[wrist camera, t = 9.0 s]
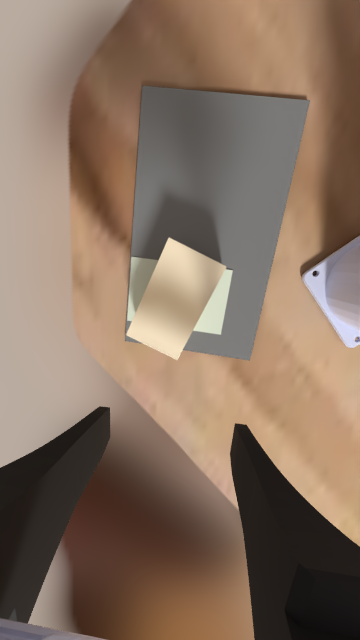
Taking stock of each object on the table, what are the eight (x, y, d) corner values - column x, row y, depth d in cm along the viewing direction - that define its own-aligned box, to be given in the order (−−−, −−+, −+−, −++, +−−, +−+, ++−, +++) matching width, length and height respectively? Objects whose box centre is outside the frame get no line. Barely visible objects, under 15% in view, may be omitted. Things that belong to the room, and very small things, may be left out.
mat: (143, 89, 16) (141, 84, 16) (307, 104, 16) (310, 99, 15) (126, 339, 21) (124, 341, 21) (248, 358, 21) (249, 360, 20)
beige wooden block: (174, 242, 18) (168, 237, 15) (222, 266, 18) (226, 266, 15) (137, 323, 20) (125, 335, 17) (180, 344, 21) (177, 360, 17)
